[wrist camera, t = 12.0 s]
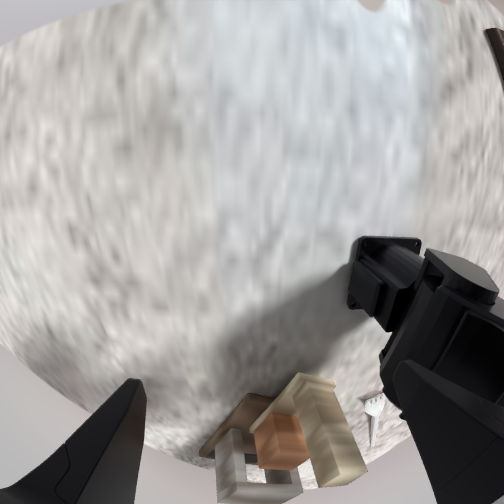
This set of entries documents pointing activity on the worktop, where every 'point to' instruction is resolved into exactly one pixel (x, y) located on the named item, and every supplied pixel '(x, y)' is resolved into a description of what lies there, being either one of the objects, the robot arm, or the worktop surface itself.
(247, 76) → the worktop surface
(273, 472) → the tunnel
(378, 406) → the fork
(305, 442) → the beige orange stepped block
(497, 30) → the hardcover book
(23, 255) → the worktop surface
